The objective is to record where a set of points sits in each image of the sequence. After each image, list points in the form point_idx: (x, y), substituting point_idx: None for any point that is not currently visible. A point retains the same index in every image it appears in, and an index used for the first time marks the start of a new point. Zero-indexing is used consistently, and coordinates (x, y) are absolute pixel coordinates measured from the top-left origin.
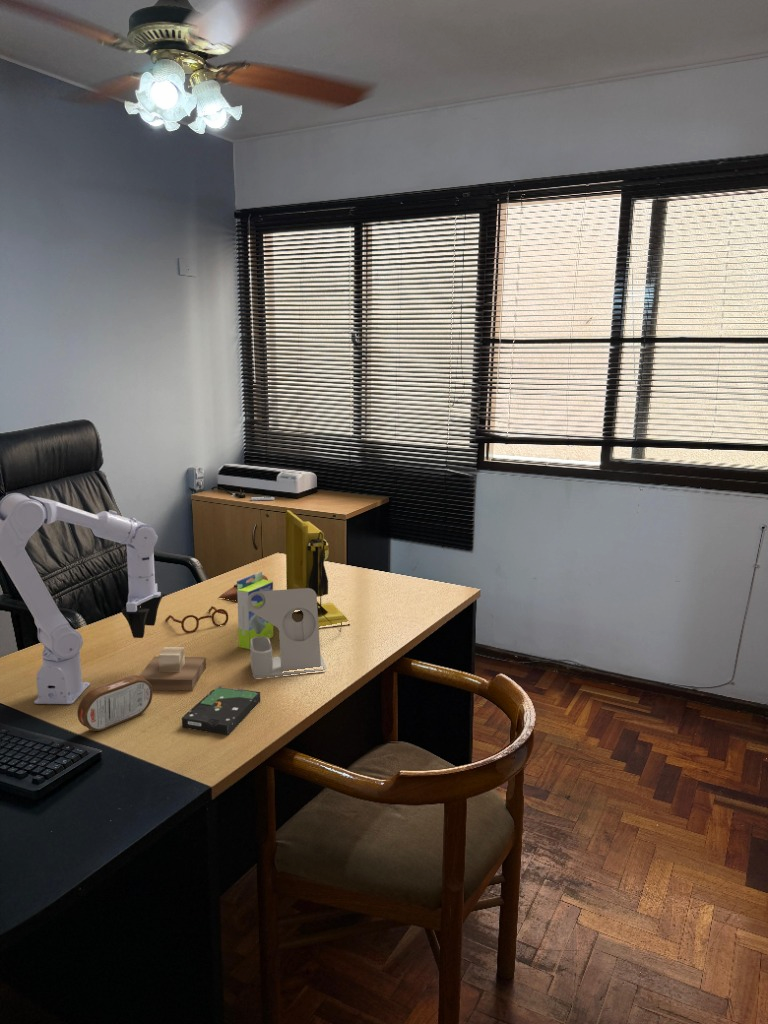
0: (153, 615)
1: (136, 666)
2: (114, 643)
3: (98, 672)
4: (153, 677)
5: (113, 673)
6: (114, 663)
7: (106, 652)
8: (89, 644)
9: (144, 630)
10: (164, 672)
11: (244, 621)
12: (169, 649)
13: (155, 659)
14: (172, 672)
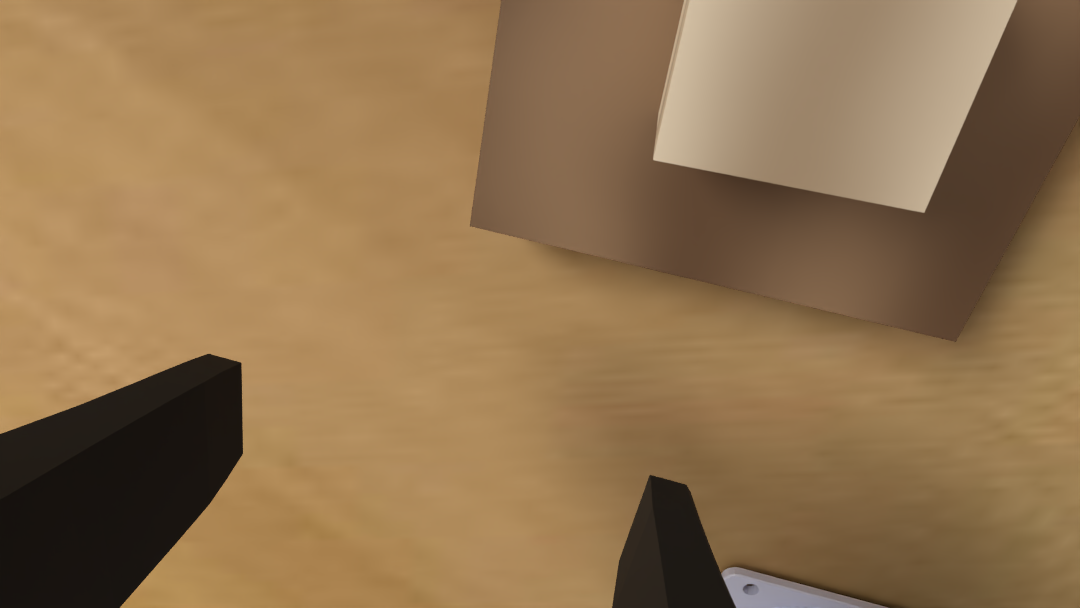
0: (132, 454)
1: (476, 325)
2: None
3: (543, 525)
4: (985, 201)
5: (574, 452)
6: (414, 452)
7: (250, 496)
8: None
9: (662, 533)
10: None
11: None
12: (753, 81)
13: (540, 212)
14: None
